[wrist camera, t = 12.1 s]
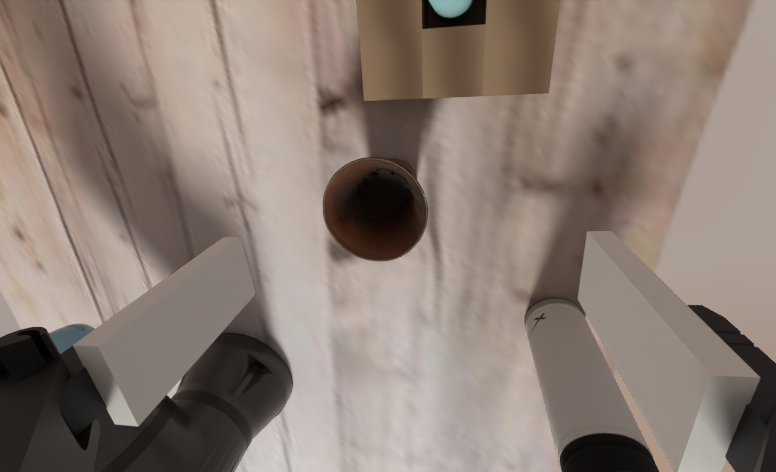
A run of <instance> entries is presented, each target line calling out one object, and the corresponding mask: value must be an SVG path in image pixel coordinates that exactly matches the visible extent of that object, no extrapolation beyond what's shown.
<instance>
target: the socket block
mask: <svg viewBox="0 0 776 472" xmlns="http://www.w3.org/2000/svg"><path fill="white" fill-rule="evenodd" d="M356 2H357V15H358V29H359V42H360V55H361V68H362V81H363V95H364V101H380V100H403V99H426V98H449V97H472V96H495V95H518V94H541V93H549V86H550V78H551V69H552V61H553V53H554V44H555V36H556V28H557V19H558V11H559V3H560V0H474V2H473V6H472V9H471V11H470V13H469V14H468V16H467V17H466V18H465V19H463V20H462V21H460V22H458V23H454V24H450V23H446V22H444V21H442V20H441V19H440V18H439V17H438V16H437V14H436V12H435V11H434V9H433V7H432V5H431V4H430V2H429V0H356Z"/></svg>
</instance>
